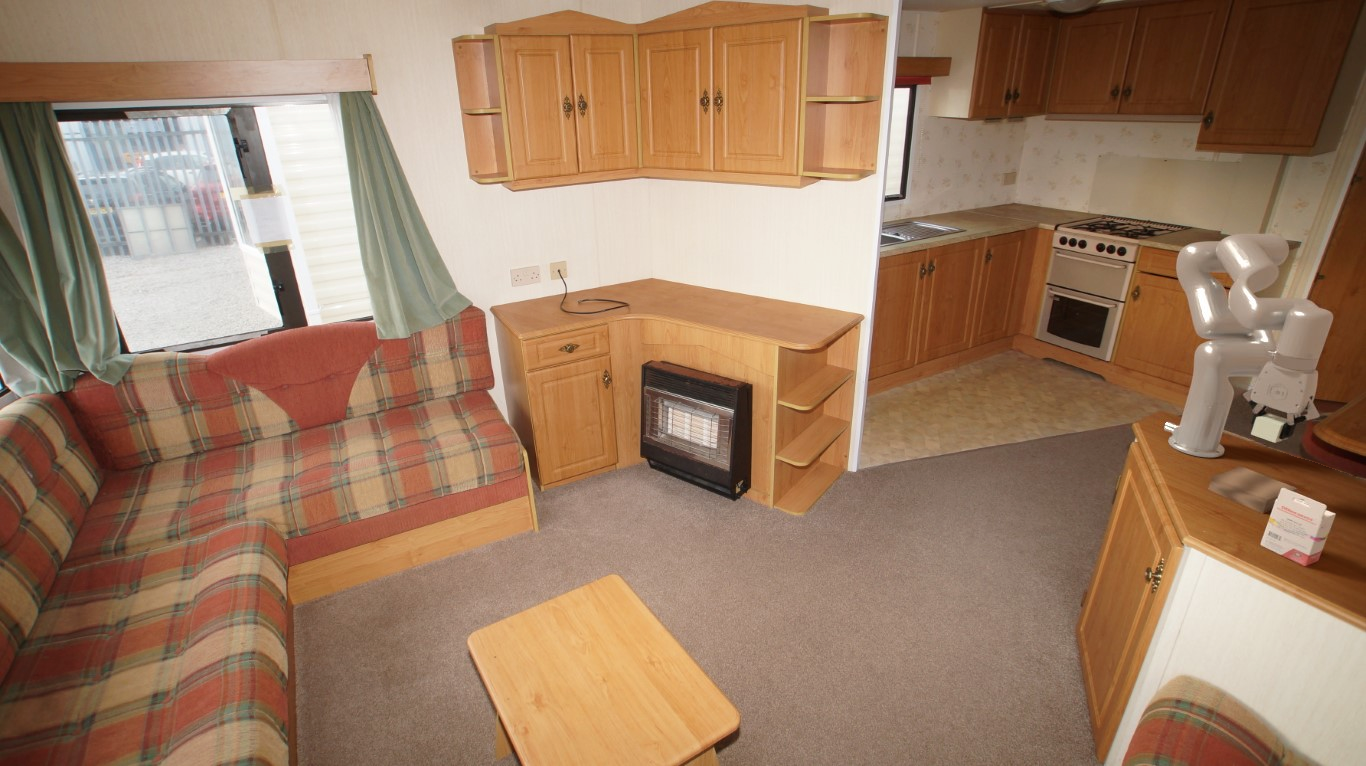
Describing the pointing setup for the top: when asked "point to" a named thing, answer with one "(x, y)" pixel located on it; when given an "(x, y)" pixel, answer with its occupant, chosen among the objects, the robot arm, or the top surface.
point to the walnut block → (1248, 488)
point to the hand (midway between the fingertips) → (1270, 432)
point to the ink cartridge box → (1297, 527)
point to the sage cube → (1268, 427)
